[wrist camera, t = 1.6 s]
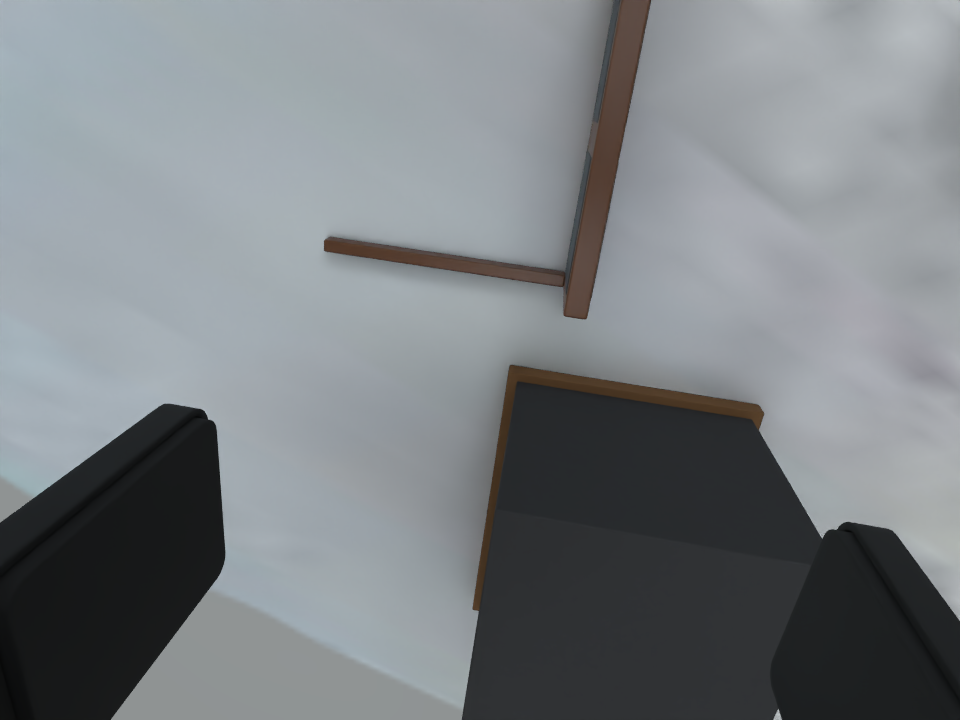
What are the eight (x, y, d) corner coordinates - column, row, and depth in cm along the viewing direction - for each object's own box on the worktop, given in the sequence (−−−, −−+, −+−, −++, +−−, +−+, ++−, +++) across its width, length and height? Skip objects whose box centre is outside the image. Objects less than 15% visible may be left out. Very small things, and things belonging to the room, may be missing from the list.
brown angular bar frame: (648, -45, 25) (668, -78, 20) (584, 286, 31) (587, 320, 26) (336, -80, 26) (285, -120, 21) (329, 247, 32) (287, 274, 27)
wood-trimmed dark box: (474, 598, 39) (439, 791, 28) (510, 364, 33) (482, 497, 22) (694, 639, 38) (747, 855, 27) (777, 407, 32) (888, 569, 21)
